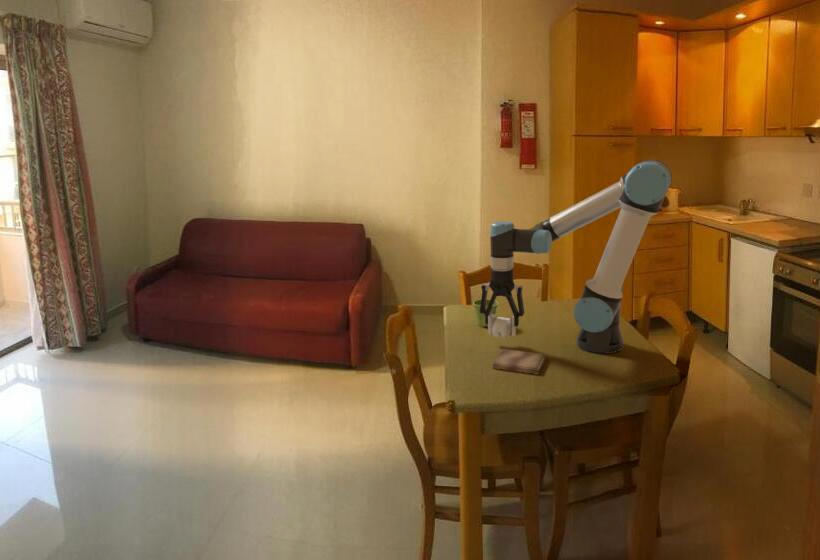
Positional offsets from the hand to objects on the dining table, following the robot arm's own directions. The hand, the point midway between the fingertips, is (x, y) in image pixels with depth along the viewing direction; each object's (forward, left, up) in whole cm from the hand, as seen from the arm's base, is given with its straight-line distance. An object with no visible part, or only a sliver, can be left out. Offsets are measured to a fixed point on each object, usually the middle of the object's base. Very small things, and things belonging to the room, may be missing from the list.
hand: (501, 333), depth 214 cm
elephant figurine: (0, 0, -1) cm, 1 cm away
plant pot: (+11, -19, -4) cm, 22 cm away
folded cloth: (-9, +14, -4) cm, 17 cm away
